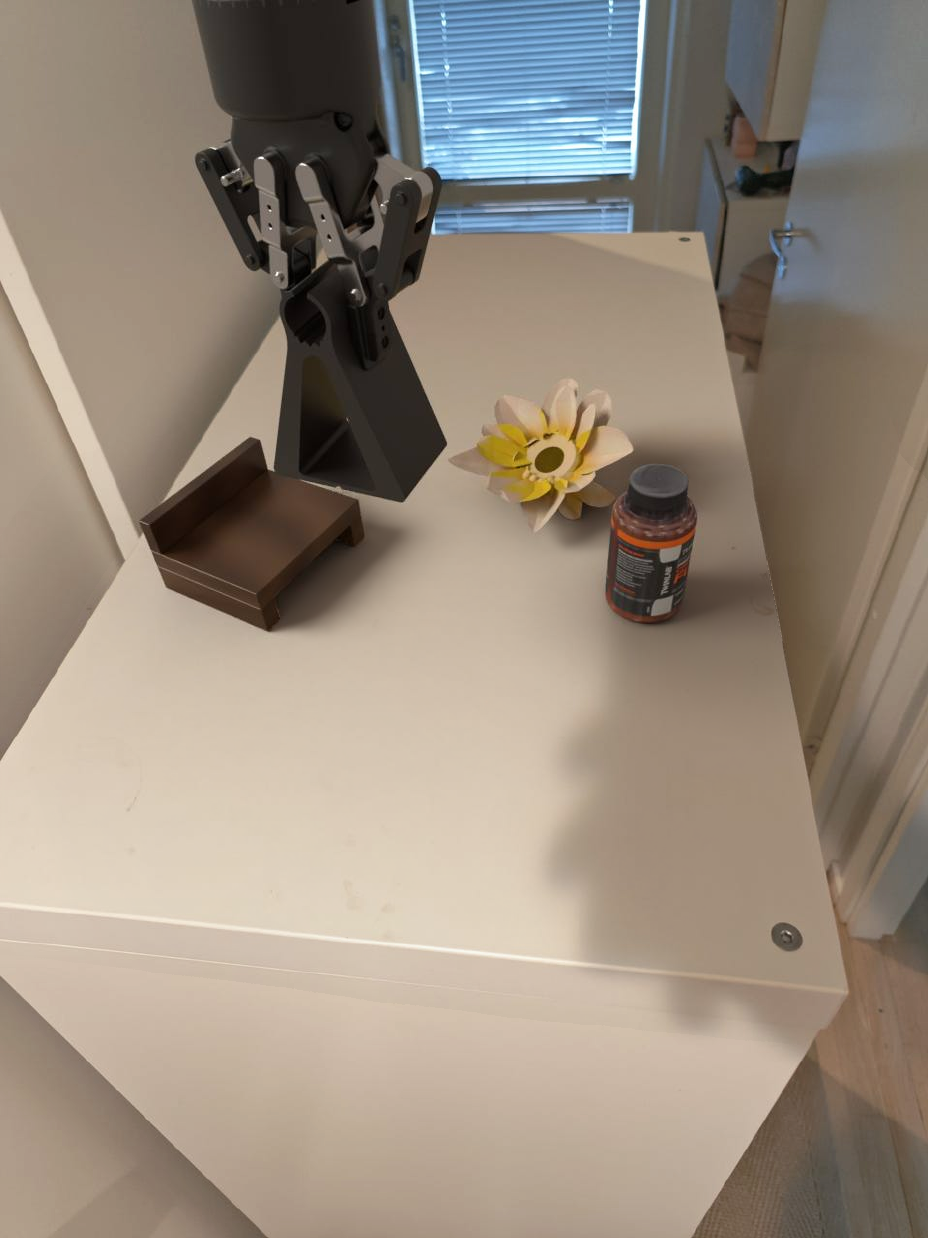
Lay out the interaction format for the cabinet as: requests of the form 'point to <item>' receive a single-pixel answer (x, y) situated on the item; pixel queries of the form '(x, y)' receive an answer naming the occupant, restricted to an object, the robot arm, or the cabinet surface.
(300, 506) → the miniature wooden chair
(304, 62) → the robot arm
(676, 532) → the supplement bottle
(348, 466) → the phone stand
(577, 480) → the decorative flower
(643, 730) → the cabinet surface
